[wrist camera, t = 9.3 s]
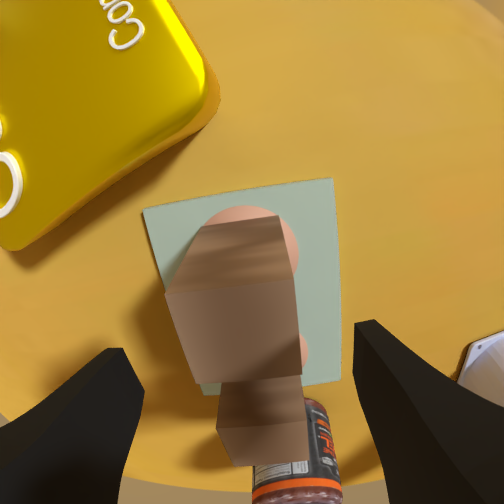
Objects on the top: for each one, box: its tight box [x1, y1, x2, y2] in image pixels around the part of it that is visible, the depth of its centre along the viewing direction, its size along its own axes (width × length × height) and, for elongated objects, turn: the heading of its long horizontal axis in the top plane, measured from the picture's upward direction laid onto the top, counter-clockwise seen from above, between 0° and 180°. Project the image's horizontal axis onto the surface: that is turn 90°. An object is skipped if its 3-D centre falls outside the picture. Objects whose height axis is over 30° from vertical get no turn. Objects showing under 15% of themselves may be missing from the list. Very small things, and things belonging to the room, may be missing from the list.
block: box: [216, 375, 309, 467], centre depth 16 cm, size 4×4×7 cm
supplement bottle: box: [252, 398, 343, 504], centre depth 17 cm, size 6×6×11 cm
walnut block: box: [164, 215, 303, 384], centre depth 13 cm, size 4×4×7 cm
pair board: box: [142, 178, 341, 396], centre depth 18 cm, size 10×14×1 cm
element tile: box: [0, 0, 221, 251], centre depth 11 cm, size 15×15×5 cm
